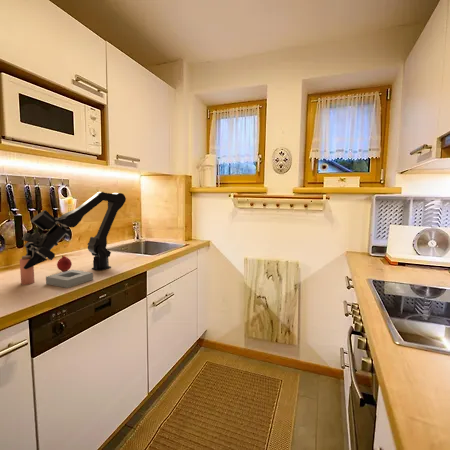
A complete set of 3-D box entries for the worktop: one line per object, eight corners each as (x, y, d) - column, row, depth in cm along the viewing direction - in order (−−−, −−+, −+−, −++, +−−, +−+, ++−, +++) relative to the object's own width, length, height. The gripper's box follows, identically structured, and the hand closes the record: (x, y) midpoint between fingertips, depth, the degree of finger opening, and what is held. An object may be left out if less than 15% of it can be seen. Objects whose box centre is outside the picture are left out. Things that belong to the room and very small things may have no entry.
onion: (69, 269, 130) (68, 253, 129) (74, 272, 126) (73, 255, 125) (55, 272, 125) (54, 255, 124) (60, 274, 122) (59, 257, 121)
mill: (29, 280, 112) (28, 254, 111) (37, 282, 111) (35, 255, 110) (18, 283, 108) (16, 256, 107) (25, 285, 107) (24, 257, 106)
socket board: (72, 276, 119) (72, 269, 119) (93, 279, 115) (92, 272, 115) (46, 283, 108) (45, 276, 108) (67, 287, 104) (66, 280, 104)
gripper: (28, 223, 116) (-3, 252, 109) (44, 226, 104) (10, 259, 97) (50, 239, 123) (22, 267, 116) (67, 244, 111) (37, 276, 104)
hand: (22, 267), depth 108 cm, fingers closed on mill, 4 cm apart
